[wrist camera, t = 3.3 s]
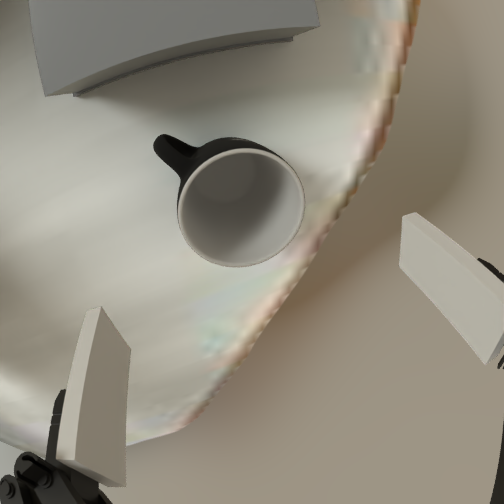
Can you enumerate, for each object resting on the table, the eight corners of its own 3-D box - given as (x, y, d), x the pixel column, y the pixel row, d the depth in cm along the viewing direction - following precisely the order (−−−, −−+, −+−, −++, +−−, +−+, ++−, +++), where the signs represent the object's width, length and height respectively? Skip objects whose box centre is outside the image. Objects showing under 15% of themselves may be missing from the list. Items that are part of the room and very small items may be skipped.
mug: (286, 162, 30) (329, 198, 21) (232, 228, 32) (253, 286, 24) (189, 91, 24) (192, 91, 16) (135, 169, 27) (113, 209, 18)
